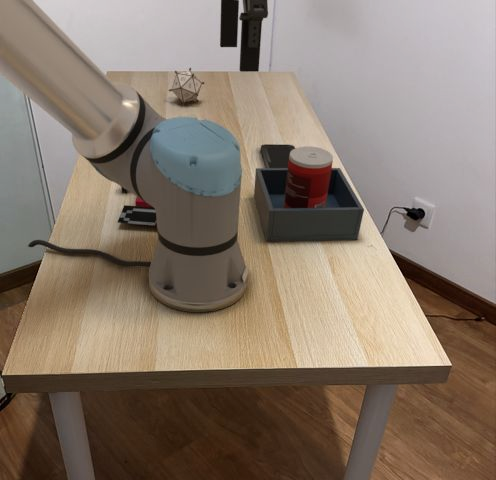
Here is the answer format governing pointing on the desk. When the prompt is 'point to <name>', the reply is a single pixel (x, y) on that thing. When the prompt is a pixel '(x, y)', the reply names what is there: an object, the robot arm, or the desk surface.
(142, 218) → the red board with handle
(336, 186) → the bin
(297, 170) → the canned food
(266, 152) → the phone
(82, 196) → the desk surface
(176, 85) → the game die
